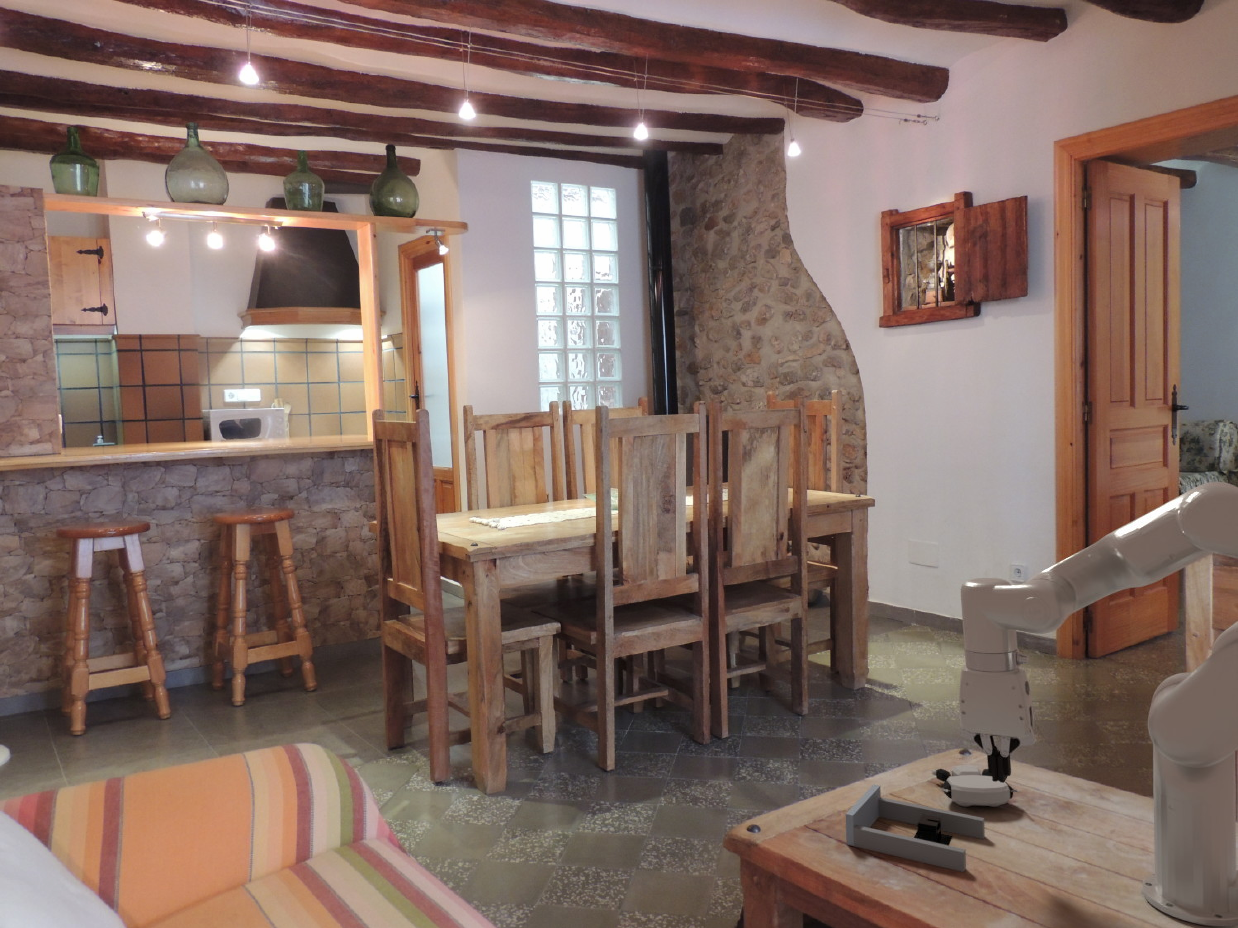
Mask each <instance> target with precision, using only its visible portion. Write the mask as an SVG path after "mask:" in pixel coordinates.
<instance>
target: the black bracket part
mask: <svg viewBox="0 0 1238 928" xmlns="http://www.w3.org/2000/svg"><path fill="white" fill-rule="evenodd" d="M953 837H954V836H953V835H950V834H946V833H942V830H941V818H940V817H936V816H930V815H924V814H922V816H921V817H920V819H919V821H918V825H917V830H916V832H915V834H914V837H913V838H917V839H921V840H926V841H930V842H935V843H939V844H944V845H948V846H950V844H951V841H952V839H953Z"/></svg>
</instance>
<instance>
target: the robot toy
mask: <svg viewBox="0 0 1238 928" xmlns="http://www.w3.org/2000/svg"><path fill="white" fill-rule="evenodd" d="M931 774H932V775H933V776H935V777H936V779H937V780H939V781H941V782H943V783H942V787H941V788H940V790H941V791H940V792H942V793H944V794H945V796H946V797H947V798H948V799H951V801H952V802H954V803H956V804H957V805H959V806H960V807H965V808H967V807H971V806H983V807H984V806H988V807H991V808H996V807H1000V805H1005V804H1007V803H1009V802H1010V800H1011V799H1012V798H1013V797H1014V793H1015V792H1016V793H1018V794H1019V793H1021V790H1020V789H1015V788H1013V787H1012V786H1011V785H1010V784H1009V783H1007V781H1005V782H1004V783H1002V782H1000V781H999V780H998V781H997V782H994V781H993V780H992V774H990V773H989V772H988V768H985V769H983V770H982V771H981V769H979V767H978V766H976V765H969V764H967V765H966V764H964V765H963V764H959V765H954V766H953V767H952V769H951V772H950V771H948V770H947V769H943V768H938V769H933V770H931Z"/></svg>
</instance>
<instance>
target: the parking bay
mask: <svg viewBox="0 0 1238 928" xmlns="http://www.w3.org/2000/svg"><path fill="white" fill-rule="evenodd" d="M881 793H882V792H881V785H877V784H872V786H870V788H869V789H868V790H867V791H866V792H865V793H864V794H863V795H862V796H861V797H860V798H859V799H858V800H857V801H856V803H855V804H853V806H851V808H850V809H849V810H848V811H847V812H846V813H845V834H846V836H845V837H846V841H845V842H846V845H847V846H853V847H856V848H860V849H865V850H869V851H872V852H877V853H881V854H886V855H890V856H894V857H898V858H902V859H905V860H910V861H915V862H920V863H924V864H928V865H932V866H935V867H941V868H944V869H947V870H948V869H949V870H953V871H957V872H961V873H965V871H966V869H967V861H966V860H967V856H966V850H967V849H966V848H962V847H961V848H960V847H956V846H953V845H949V846H948V845H944V844H939V843H935V842H930V841H926V840H921V839H917V838H914V837H912V836H908V835H903V834H900V833H899V834H898V833H893V832H889V831H885V830H881V829H878V828H877V829H875V828H873V827H872V826H873V824H875V822H876V821H877V820H878V819H879V818H883V819H887V820H891V821H898V822H902V823H907V824H909V825H914V826H918V821H919V819H920V817H921V816H922V814H924V815H930V816H936V817H940V818H941V832H948V833H952V834H958V835H962V836H967V837H971V838H975V839H981V840H984V838H985V837H986V836H985V834H986V832H985V817H980V816H975V815H972V814H971V815H970V814H966V813H960V812H955V811H951V810H946V809H940V808H937V807H932V806H925V805H922V804H917V803H912V802H911V803H910V802H906V801H901V800H896V799H891V798H887V797H881ZM871 827H872V828H871Z"/></svg>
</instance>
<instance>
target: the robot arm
mask: <svg viewBox="0 0 1238 928" xmlns="http://www.w3.org/2000/svg"><path fill="white" fill-rule="evenodd" d="M1212 554H1217V555H1221V556H1225V557H1230V558H1235V559H1238V486H1236V485H1234V484H1231V483H1229V482H1225V481H1210V482H1206V483H1203V484H1200V485H1198V486H1196V487H1193V488H1192V489H1189V490H1187V491H1186V492H1184V493H1183V494H1181V495H1179V496H1178V495H1177V497H1174V498H1173V499H1171V500H1169V501H1167V502H1166V503H1164V504H1162V505H1160V506H1158V507H1156V508H1155V509H1152V510H1150V511H1149V512H1147V513H1146V514H1143V515H1141V516H1140V517H1137V518H1136V519H1134V520H1132V521H1130V522H1128V523H1126V524H1125V525H1122V526H1121V527H1119V528H1117V529H1115V530H1113V531H1112V532H1109V533H1108V534H1105V536H1103V537H1102V538H1100V539H1099V540H1098V541H1096V542H1094V543H1093V544H1091V545H1090V546H1088V547H1086V548H1084V549H1081V550H1080V551H1078V552H1076V553H1074V554H1072V555H1070V556H1069V557H1068V556H1067V558H1065V559H1063V560H1060V561H1059V562H1057V563H1055V564H1054V565H1051V566H1050V567H1048V568H1046V569H1044V570H1042V571H1041V572H1038V573H1037V574H1035V575H1034V576H1032V577H1031V578H1029V579H1028V580H1026V581H1025V582H1023V583H1020V584H1011V583H1010V582H1009V581H1008V580H1006V579H1003V578H996V577H982V578H971V579H968V580H965V581H964V582H963V583H962V584H961V586H960V602H961V617H962V630H963V633H962V634H963V641H964V642H963V645H964V658H965V664H964V665H963V666H962V668H961V672H960V680H959V696H958V697H959V698H958V699H959V700H958V703H959V705H958V712H959V716H958V717H959V724H960V734H959V736H960V737H961V738H964V739H966V740H969V741H971V742H973V741H974V742H975V743H976V744H977V745H978V746H979V747H980V748H981V749H982V750H983V753H984V755H986V756H987V758H986V759H987V769H988V772H989V773H990V774H992V780H993V781H994V782H997V781H998V780H999V781H1000V782H1002V783H1004V782H1006V781H1007V779H1008V777H1010V776H1011V774H1012V763H1011V754H1012V752H1014V751H1015V750H1016V749H1017V748H1019V747H1027V746H1034V745H1035V743H1036V741H1037V739H1036V735H1035V733H1034V727H1035V716H1034V708H1033V701H1032V694H1031V688H1030V684H1029V679H1028V675H1027V671H1026V669H1025V668H1024V667H1020V666H1021V665H1023V664H1027V665H1028V664H1029V662H1030V661H1029V655H1028V654H1023V653H1022V652H1021V651H1020V650H1019V649H1020V648H1018V636H1017V631H1019V632H1023V633H1029V634H1037V635H1038V634H1039V635H1042V634H1043V635H1044V634H1050V633H1053V632H1055V631H1057V630H1058V629H1059V628H1061V626H1062V625H1063V624H1064V623H1065V621H1066V620H1067V619H1068V618H1069V616H1071V615H1072V614H1074V613H1076V612H1078V611H1080V610H1081V609H1083V608H1086V607H1088V606H1090V605H1091V604H1093V603H1096V602H1097V601H1099V600H1101V599H1103V598H1105V597H1108V596H1109V595H1112V594H1115V593H1118V592H1119V591H1123V590H1126V589H1131V588H1142V587H1146V586H1148V585H1152V584H1155V583H1157V582H1158V581H1160V580H1162V579H1165V578H1166V577H1168V576H1171V575H1172V574H1175V573H1176V572H1178V571H1180V570H1182V569H1185V568H1186V567H1188V566H1190V565H1192V564H1194V563H1197V562H1198V561H1200V560H1202V559H1204V558H1206V557H1208V556H1211V555H1212ZM1147 715H1148V718H1147V730H1148V735H1149V738H1150V740H1151V742H1152V749H1153V750H1152V755H1153V757H1152V764H1153V765H1152V766H1153V767H1152V768H1153V769H1152V770H1153V771H1152V773H1153V775H1152V777H1153V778H1152V779H1153V780H1152V781H1153V787H1152V788H1153V790H1152V791H1153V794H1152V795H1153V841H1154V842H1153V844H1154V845H1153V846H1154V851H1153V853H1154V854H1153V855H1154V856H1153V857H1154V874H1152V875H1151V874H1150V875H1149V876H1147V877H1146V878H1144V879H1143V881H1142V883H1141V884H1142V886H1141V888H1142V889H1141V891H1142V895H1143V897H1144V898H1145V900H1146V901H1147V902H1149V904H1151V905H1152V906H1153V907H1154V908H1156V909H1157V910H1159V911H1161V912H1163V913H1164V914H1167V915H1169V916H1170V917H1173V918H1176V919H1179V920H1181V921H1185V922H1189V923H1192V924H1197V925H1200V926H1201V925H1202V926H1210V927H1233V926H1238V870H1237V835H1236V834H1237V828H1236V826H1237V824H1236V821H1237V820H1236V819H1237V818H1236V817H1237V815H1236V812H1237V811H1236V809H1237V808H1236V807H1237V806H1236V803H1237V802H1236V799H1237V797H1236V795H1237V793H1236V792H1237V790H1236V787H1237V785H1236V784H1237V783H1236V781H1237V780H1236V778H1237V776H1236V751H1238V620H1237V621H1236V622H1234V623H1233V624H1232V625H1230V626H1229V627H1228V628H1227V629H1225V630H1224V631H1223V632H1221V633H1220V634H1219V635H1218V637H1217V638H1216V640H1215V641H1214V643H1213V647H1212V649H1211V654H1210V655H1209V656H1208V657H1207V658H1206V659H1205V660H1204V661H1203V662H1202V663H1201V664H1200V665H1199V666H1198V667H1197V668H1195V669H1194V670H1193V671H1192V672H1179V673H1175V674H1173V675H1171V676H1168V677H1167V678H1165V679H1164V680H1162V681H1161V683H1160V684H1159V685H1158V686H1157V688H1156V689H1155V691H1154V693H1153V695H1152V698H1151V702H1150V706H1149V711H1148V714H1147ZM995 737H998V738H999V737H1001V740H1000V749H998V747H997V745H996V740H995Z"/></svg>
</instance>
